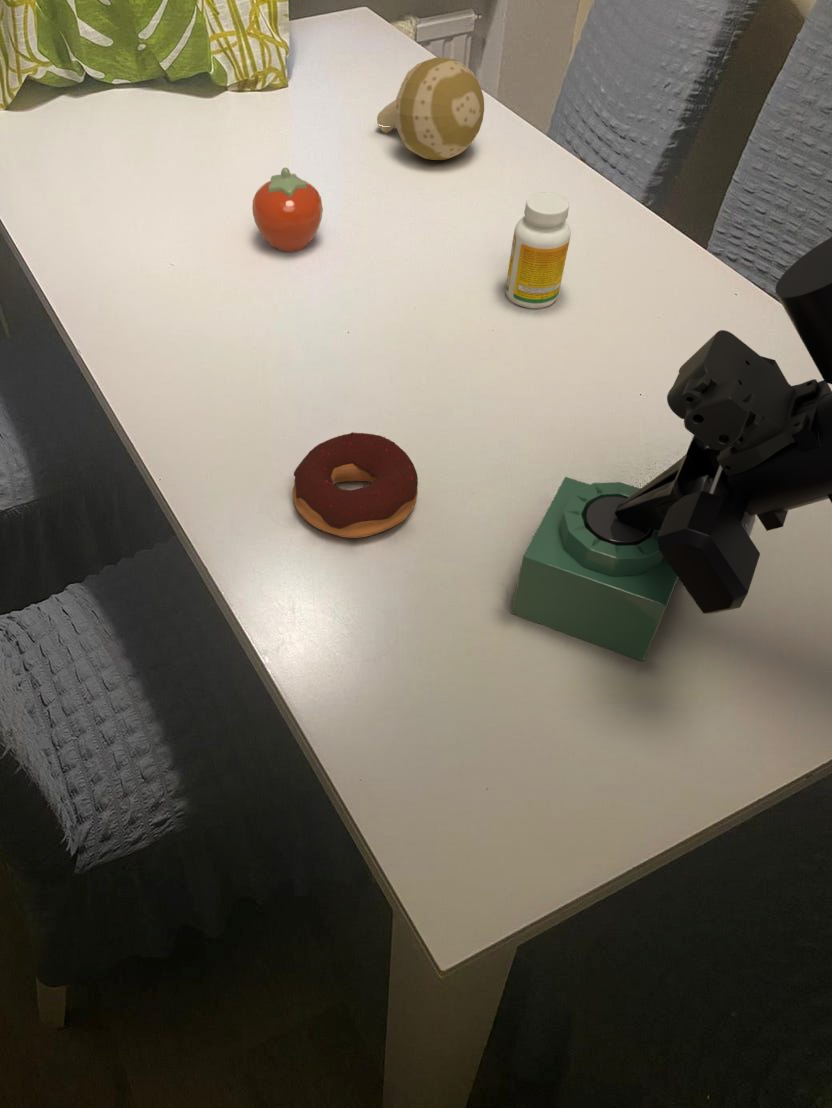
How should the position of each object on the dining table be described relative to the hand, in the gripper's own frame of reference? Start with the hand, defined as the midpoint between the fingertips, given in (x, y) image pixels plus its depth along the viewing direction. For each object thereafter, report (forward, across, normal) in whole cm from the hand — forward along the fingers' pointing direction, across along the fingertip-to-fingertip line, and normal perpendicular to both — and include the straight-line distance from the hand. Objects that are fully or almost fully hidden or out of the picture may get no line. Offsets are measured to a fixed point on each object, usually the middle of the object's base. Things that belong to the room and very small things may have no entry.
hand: (619, 514), depth 63 cm
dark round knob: (+1, 0, +2) cm, 2 cm away
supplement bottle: (+19, -36, -6) cm, 41 cm away
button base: (+6, 0, +6) cm, 8 cm away
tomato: (+38, -33, -25) cm, 56 cm away
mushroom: (+35, -60, -22) cm, 73 cm away
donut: (+21, -1, -8) cm, 22 cm away
